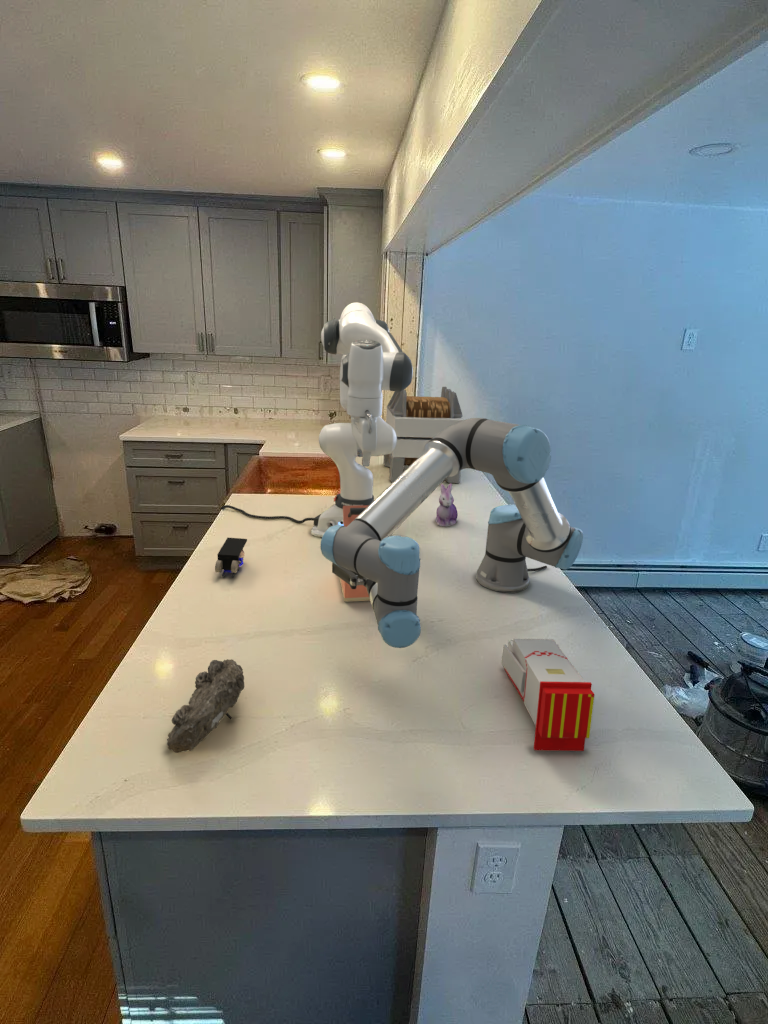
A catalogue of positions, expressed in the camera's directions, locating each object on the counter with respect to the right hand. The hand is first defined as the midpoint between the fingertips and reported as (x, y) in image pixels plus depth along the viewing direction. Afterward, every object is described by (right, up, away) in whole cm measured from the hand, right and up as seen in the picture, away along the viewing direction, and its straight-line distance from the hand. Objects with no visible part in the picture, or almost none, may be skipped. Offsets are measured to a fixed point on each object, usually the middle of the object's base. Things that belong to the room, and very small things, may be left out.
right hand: (371, 551), depth 136 cm
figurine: (+26, +5, +76) cm, 81 cm away
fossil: (-30, -30, -28) cm, 50 cm away
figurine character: (-42, -8, +32) cm, 53 cm away
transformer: (+20, +28, +139) cm, 143 cm away
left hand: (-2, +23, +11) cm, 25 cm away
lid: (-3, +3, +16) cm, 16 cm away
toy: (+34, -30, -20) cm, 50 cm away
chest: (-4, -12, +25) cm, 28 cm away
